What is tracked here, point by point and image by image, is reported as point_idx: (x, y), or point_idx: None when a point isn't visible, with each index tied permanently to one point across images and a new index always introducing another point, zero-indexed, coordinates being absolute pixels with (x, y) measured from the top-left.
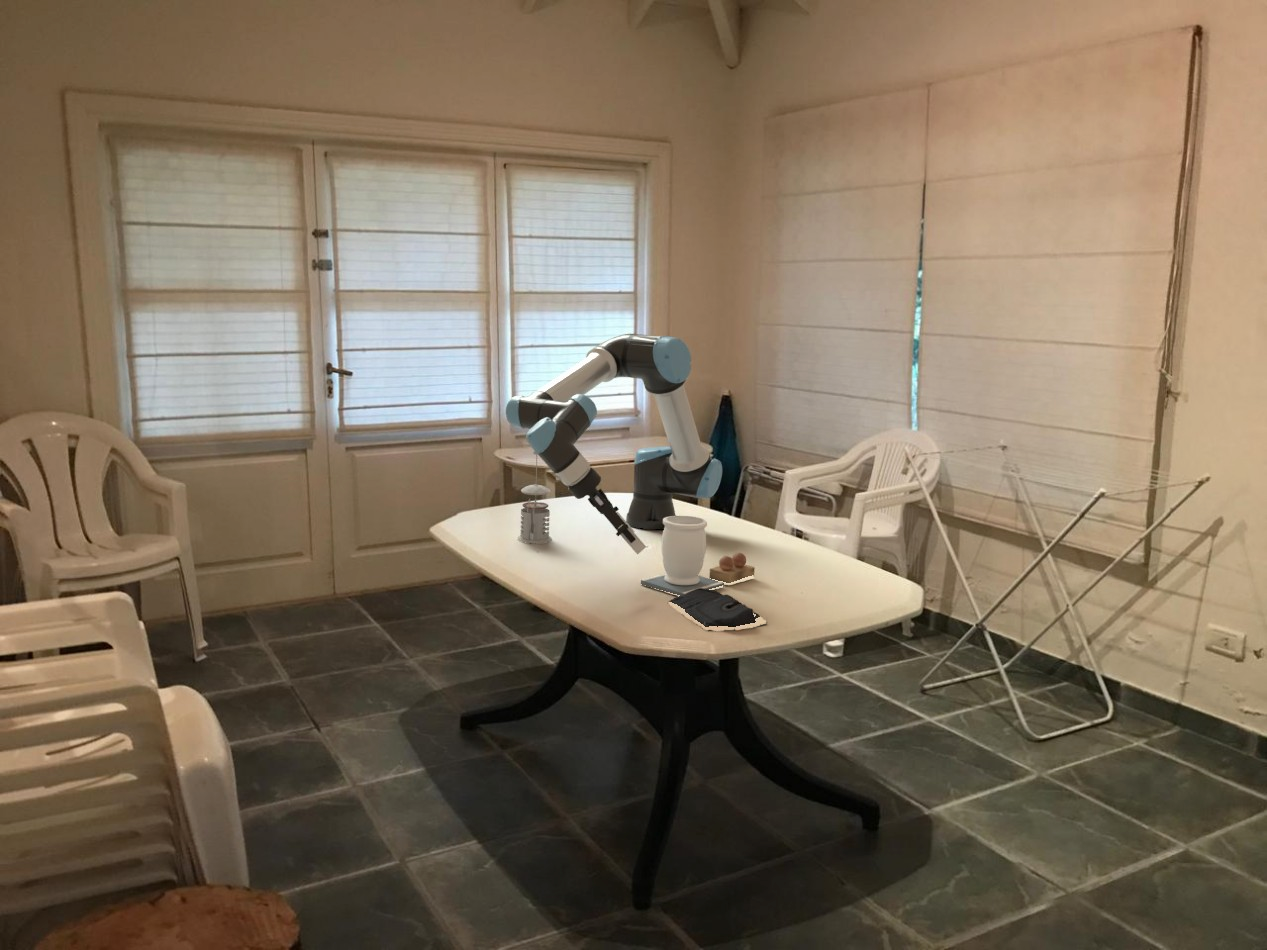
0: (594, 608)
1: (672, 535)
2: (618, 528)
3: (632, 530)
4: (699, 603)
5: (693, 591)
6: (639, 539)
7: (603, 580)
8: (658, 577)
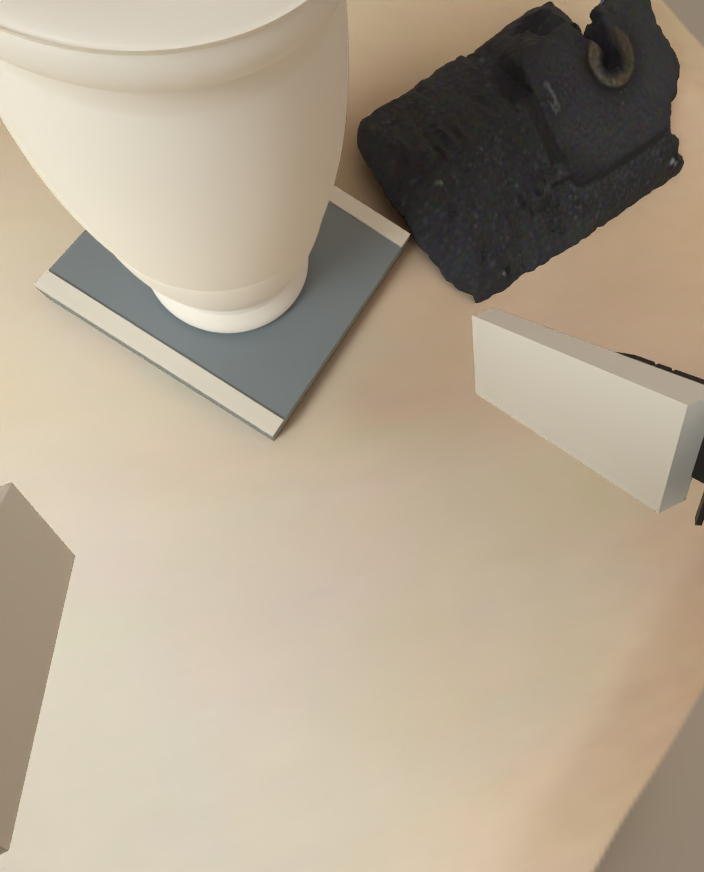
0: (642, 557)
1: (329, 81)
2: (45, 658)
3: (11, 504)
4: (547, 170)
5: (450, 186)
6: (551, 332)
7: (256, 628)
8: (202, 365)
